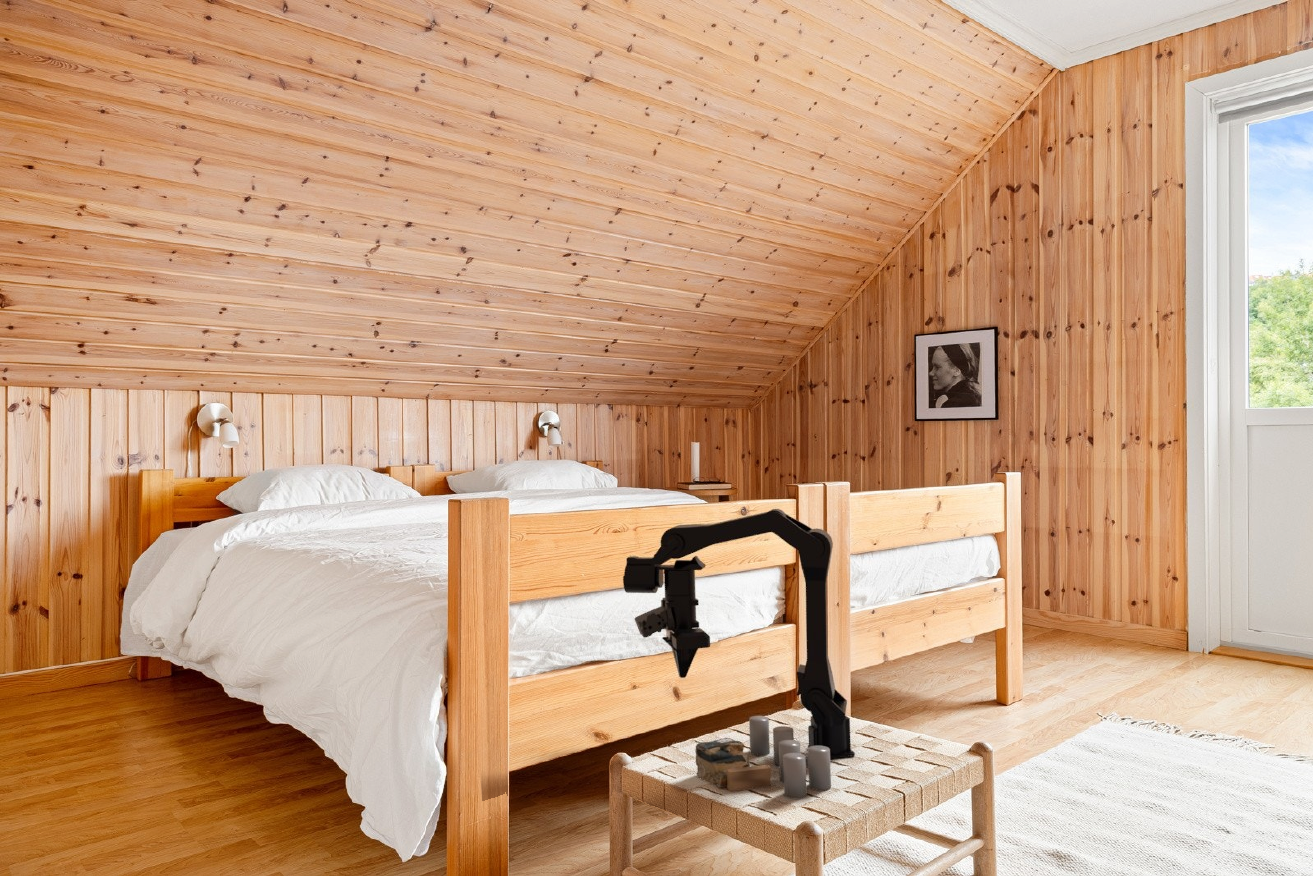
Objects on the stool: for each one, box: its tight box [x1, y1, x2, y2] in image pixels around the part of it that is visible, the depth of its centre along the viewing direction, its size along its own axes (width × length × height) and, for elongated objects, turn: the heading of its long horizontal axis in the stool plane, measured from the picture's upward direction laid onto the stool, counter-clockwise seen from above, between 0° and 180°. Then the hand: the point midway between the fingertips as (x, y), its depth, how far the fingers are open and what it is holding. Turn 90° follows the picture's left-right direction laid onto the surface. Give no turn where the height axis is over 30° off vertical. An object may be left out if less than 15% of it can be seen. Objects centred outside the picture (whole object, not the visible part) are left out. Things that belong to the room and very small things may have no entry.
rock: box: [694, 737, 751, 788], centre depth 150 cm, size 9×9×6 cm
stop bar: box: [726, 764, 772, 792], centre depth 145 cm, size 7×2×3 cm, turn 102°
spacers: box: [748, 715, 832, 800], centre depth 152 cm, size 8×24×6 cm, turn 12°
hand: (682, 677), depth 167 cm, fingers closed
